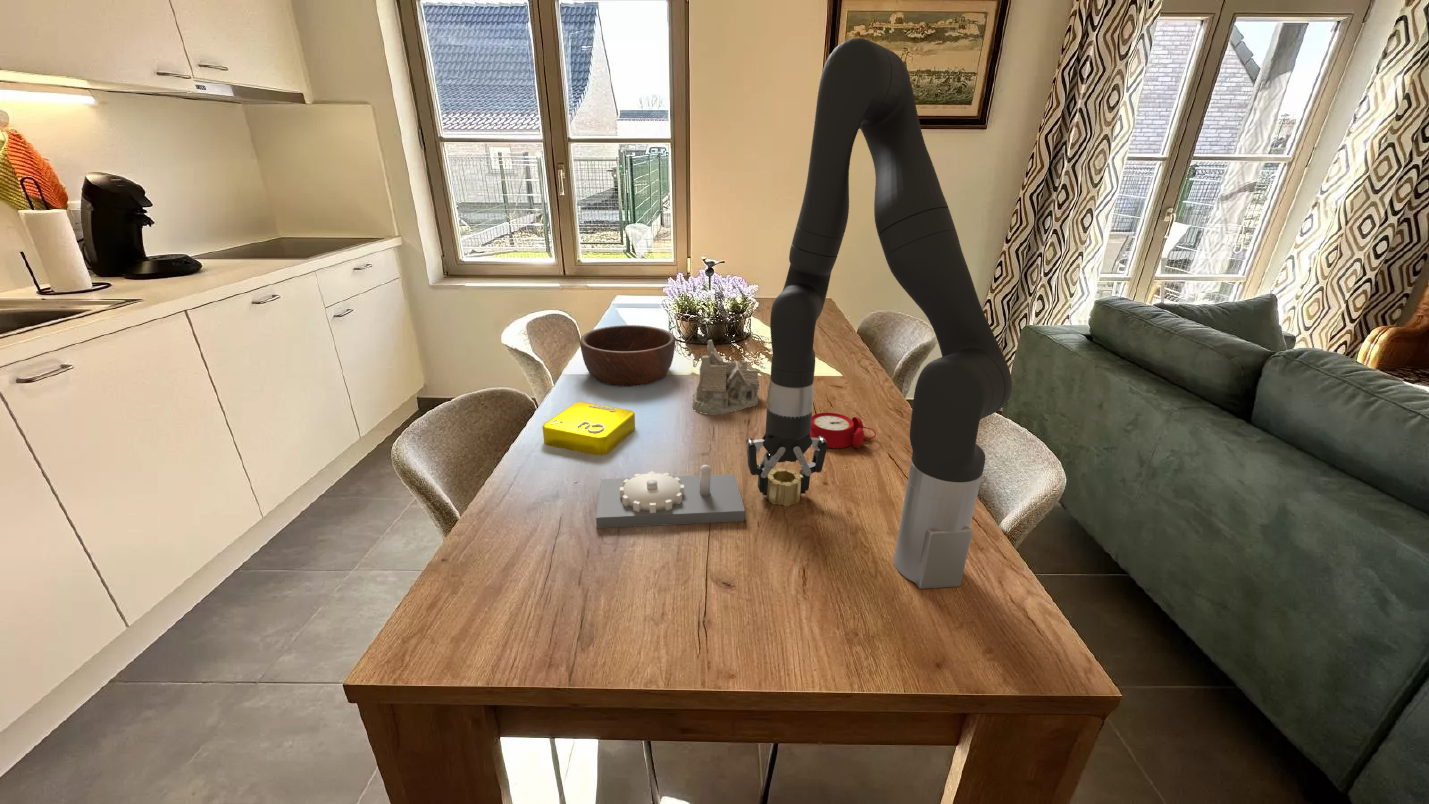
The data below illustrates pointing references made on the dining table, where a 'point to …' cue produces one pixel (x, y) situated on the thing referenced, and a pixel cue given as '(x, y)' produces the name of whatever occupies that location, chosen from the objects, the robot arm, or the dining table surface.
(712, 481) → the gear board
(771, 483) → the brass gear
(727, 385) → the ceramic cottage
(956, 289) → the robot arm
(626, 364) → the wooden bowl
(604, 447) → the element tile
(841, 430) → the alarm clock
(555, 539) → the dining table surface
